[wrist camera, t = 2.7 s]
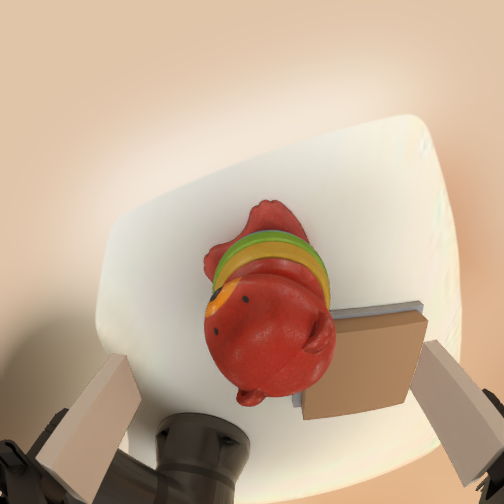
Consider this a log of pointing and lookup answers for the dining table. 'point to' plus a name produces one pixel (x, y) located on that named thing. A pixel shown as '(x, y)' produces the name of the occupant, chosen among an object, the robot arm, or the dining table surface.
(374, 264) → the dining table surface
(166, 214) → the dining table surface
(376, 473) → the dining table surface
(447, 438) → the robot arm
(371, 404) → the board
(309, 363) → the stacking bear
